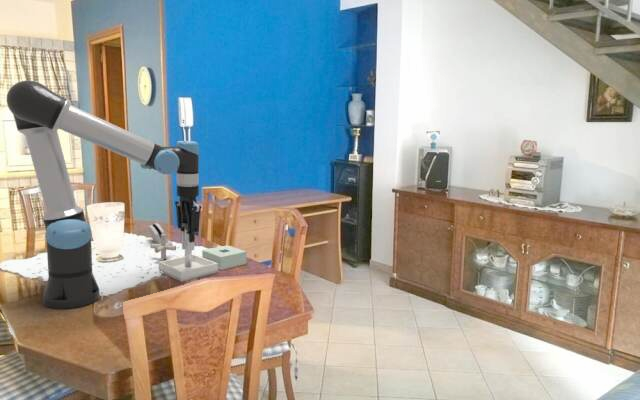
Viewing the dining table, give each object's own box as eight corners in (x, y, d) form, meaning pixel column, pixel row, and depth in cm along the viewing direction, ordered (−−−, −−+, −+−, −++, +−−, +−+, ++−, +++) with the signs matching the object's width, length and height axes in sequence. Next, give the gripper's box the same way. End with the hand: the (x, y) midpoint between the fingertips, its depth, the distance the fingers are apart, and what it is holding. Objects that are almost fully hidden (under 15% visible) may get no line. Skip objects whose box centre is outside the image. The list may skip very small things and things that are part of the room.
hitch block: (220, 270, 175) (220, 257, 175) (202, 262, 183) (202, 250, 182) (246, 263, 184) (246, 251, 183) (227, 257, 192) (227, 245, 191)
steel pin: (186, 269, 169) (186, 224, 166) (180, 266, 171) (180, 222, 169) (196, 266, 172) (196, 223, 169) (189, 264, 174) (189, 221, 172)
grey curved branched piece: (173, 247, 203) (165, 226, 199) (163, 252, 201) (154, 231, 197) (164, 238, 217) (156, 218, 213) (154, 242, 215) (146, 223, 211)
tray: (181, 281, 162) (181, 271, 161) (158, 271, 171) (158, 261, 171) (217, 272, 173) (217, 263, 172) (194, 263, 182) (194, 254, 182)
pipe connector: (168, 264, 179) (168, 238, 178) (144, 261, 181) (144, 236, 180) (181, 257, 189) (181, 233, 187) (158, 254, 191) (158, 230, 189)
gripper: (209, 187, 164) (209, 252, 168) (185, 181, 174) (185, 243, 178) (190, 188, 159) (190, 256, 163) (166, 183, 169) (167, 246, 173)
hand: (188, 249), depth 171 cm, fingers closed on steel pin, 2 cm apart
